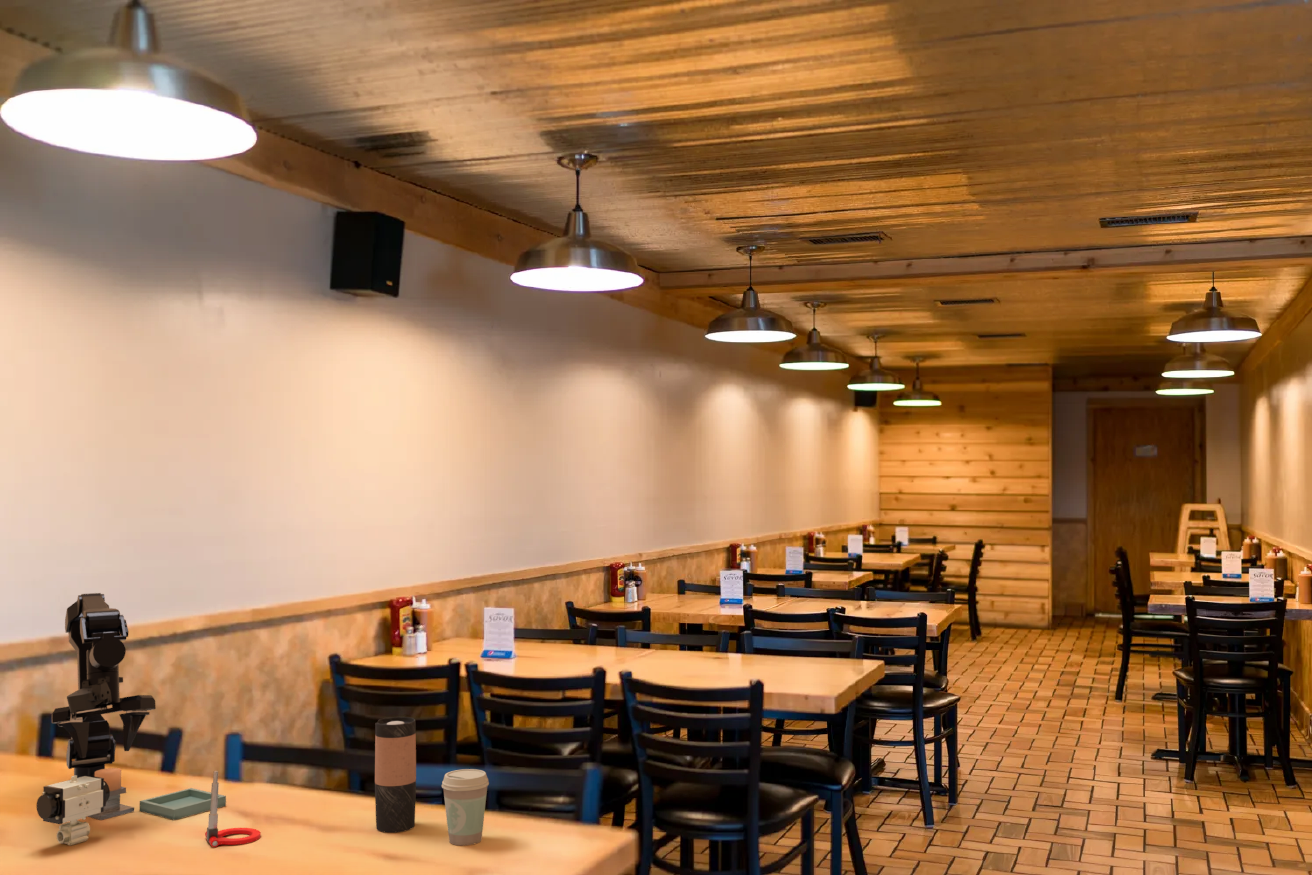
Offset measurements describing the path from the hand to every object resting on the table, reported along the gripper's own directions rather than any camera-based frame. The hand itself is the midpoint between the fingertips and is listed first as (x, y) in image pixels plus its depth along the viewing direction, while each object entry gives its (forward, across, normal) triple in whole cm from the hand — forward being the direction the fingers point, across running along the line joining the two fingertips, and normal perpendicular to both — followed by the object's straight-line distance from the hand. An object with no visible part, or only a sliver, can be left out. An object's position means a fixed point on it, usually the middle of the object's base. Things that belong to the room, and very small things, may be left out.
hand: (104, 754), depth 223 cm
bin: (+12, +8, +13) cm, 19 cm away
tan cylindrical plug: (+7, -4, +7) cm, 11 cm away
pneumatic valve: (+16, 0, -10) cm, 18 cm away
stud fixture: (+11, -5, +8) cm, 14 cm away
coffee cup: (+25, +70, 0) cm, 75 cm away
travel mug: (+22, +55, +6) cm, 59 cm away
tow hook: (+19, +28, -4) cm, 34 cm away
